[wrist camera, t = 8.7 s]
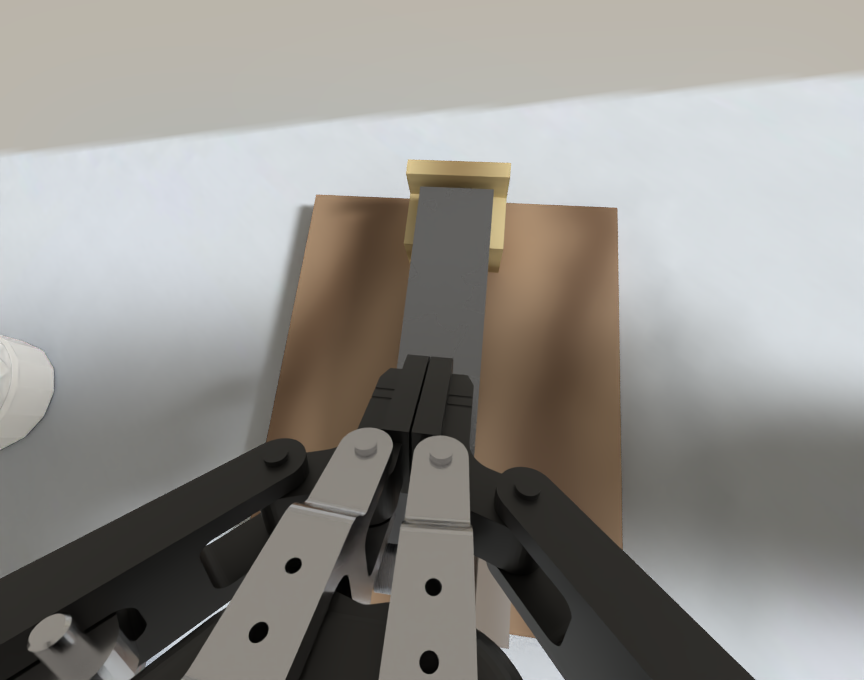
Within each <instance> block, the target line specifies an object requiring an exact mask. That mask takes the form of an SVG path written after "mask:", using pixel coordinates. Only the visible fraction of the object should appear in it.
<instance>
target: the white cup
mask: <svg viewBox="0 0 864 680" xmlns="http://www.w3.org/2000/svg"><path fill="white" fill-rule="evenodd" d="M53 393H54V368H53V366H52V365H51V363H50V361H49V359H48V358H47V356H46V354H45V353H44V351H43V350H41V349H39V348H37V347H35V346H33V345H31V344H28V343H26V342H24V341H21V340H17V339H13V338H10V337H6V336H2V335H0V450H1V449H3V448H5V447H7V446H9V445H11V444H13V443H14V442H16V441H18V440H20V439H22V438H24V437H25V436H26V435H27V434H28V433H29V432H30V431H31V430H32V429H33V428H34V427H35V425H36V424H37V423H38V422H39V421H40V420H41V419H42V418H43V416H44V415H45V413H46V410H47V408H48V405H49V403H50V400H51V398H52V395H53Z"/></svg>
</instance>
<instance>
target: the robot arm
mask: <svg viewBox="0 0 864 680" xmlns="http://www.w3.org/2000/svg"><path fill="white" fill-rule="evenodd" d="M473 390H474V385H473V383H472V381H471V380H470V378H469V376H468V375H461V374H453V358H444V357H433V356H431V359H430V356H421V355H410V354H408V355H407V357H406V359H405V362H404V365H403V368H402V369H397V368H390V369H388V370H387V371H386V372H385V373H384V374H382V375H381V376H380V378H379V380H378V382H377V385H376V387H375V389H374V392H373V394H372V398H371V399H370V401H369V403H368V406H367V408H366V410H365V413H364V415H363V417H362V419H361V422H360V424H359V426H358V429H357V430H354V431H352V432H350V433H349V434H347V435H346V436H345V437H344V438H343V439H342V440H341V442H340V443H339V445H338V447H335V448H332V449H327V450H320V451H313V452H306V450H305V447H304V446H303V444H302V443H300V442H299V441H297V440H294V439H290V438H280V439H275V440H271V441H269V442H266V443H264V444H262V445H260V446H258V447H256V448H254V449H252V450H251V451H249V452H247V453H245V454H243V455H241V456H239V457H237V458H235V459H233V460H231V461H229V462H227V463H225V464H223V465H221V466H219V467H217V468H215V469H213V470H212V471H210V472H208V473H206V474H204V475H202V476H200V477H198V478H196V479H194V480H192V481H190V482H188V483H186V484H184V485H182V486H180V487H178V488H176V489H174V490H172V491H171V492H169V493H167V494H165V495H163V496H161V497H159V498H157V499H155V500H153V501H151V502H149V503H147V504H145V505H143V506H141V507H139V508H137V509H135V510H133V511H132V512H130V513H128V514H126V515H124V516H122V517H120V518H118V519H116V520H114V521H112V522H110V523H108V524H106V525H104V526H102V527H100V528H98V529H96V530H94V531H93V532H91V533H89V534H87V535H85V536H83V537H81V538H79V539H77V540H75V541H73V542H71V543H69V544H67V545H65V546H63V547H61V548H59V549H57V550H55V551H54V552H52V553H50V554H48V555H46V556H44V557H42V558H40V559H38V560H36V561H34V562H32V563H30V564H28V565H26V566H24V567H22V568H20V569H18V570H16V571H15V572H13V573H11V574H9V575H7V576H5V577H3V578H1V579H0V680H523V679H522V677H521V676H520V674H519V672H518V671H517V669H516V668H515V666H514V665H513V664H512V662H511V661H510V660H509V658H508V657H507V656H506V654H505V653H504V652H503V651H502V650H501V649H500V648H499V647H498V645H497V644H496V643H495V642H493V641H492V640H491V639H490V638H489V637H488V636H486V635H485V634H484V633H482V632H481V631H479V630H478V629H476V612H475V580H474V556H476V557H478V558H480V559H482V560H484V561H486V563H487V566H488V569H489V571H490V572H491V574H492V576H493V577H494V578H495V580H496V581H497V583H498V584H499V586H500V587H501V588H502V590H503V591H504V593H505V594H506V596H507V597H508V599H509V600H510V601H511V603H512V604H513V606H514V607H515V609H516V610H517V612H518V613H519V614H520V616H521V617H522V619H523V620H524V622H525V623H526V624H527V626H528V627H529V629H530V630H531V632H532V633H533V635H534V636H535V637H536V639H537V640H538V642H539V643H540V645H541V646H542V648H543V649H544V650H545V652H546V653H547V655H548V656H549V658H550V659H551V660H552V662H553V663H554V665H555V666H556V668H557V669H558V671H559V672H560V673H561V675H562V676H563V678H564V679H565V680H755V679H754V678H753V677H752V676H751V675H750V674H749V673H748V672H747V671H746V670H745V669H744V668H743V667H742V666H741V665H740V664H739V663H738V662H737V661H736V660H735V659H734V658H733V657H732V656H731V655H730V654H728V653H727V652H726V651H725V650H724V649H723V648H722V647H721V646H720V645H719V644H718V643H717V642H716V641H715V640H714V639H713V638H712V637H711V636H710V635H709V634H708V633H707V632H706V631H705V630H704V629H703V628H702V627H701V626H700V625H699V624H698V623H697V622H696V621H695V620H694V619H693V618H692V617H691V616H690V615H689V614H687V613H686V612H685V611H684V610H683V609H682V608H681V607H680V606H679V605H678V604H677V603H676V602H675V601H674V600H673V599H672V598H671V597H670V596H669V595H668V594H667V593H666V592H665V591H664V590H663V589H662V588H661V587H660V586H659V585H658V584H657V583H656V582H655V581H654V580H653V579H652V578H651V577H650V576H649V575H647V574H646V573H645V572H644V571H643V570H642V569H641V568H640V567H639V566H638V565H637V564H636V563H635V562H634V561H633V560H632V559H631V558H630V557H629V556H628V555H627V554H626V553H625V552H624V551H623V550H622V549H621V548H620V547H619V546H618V545H617V544H616V543H615V542H614V541H613V540H612V539H611V538H610V537H609V536H608V535H606V534H605V533H604V532H603V531H602V530H601V529H600V528H599V527H598V526H597V525H596V524H595V523H594V522H593V521H592V520H591V519H590V518H589V517H588V516H587V515H586V514H585V513H584V512H583V511H582V510H581V509H580V508H579V507H578V506H577V505H576V504H575V503H574V502H573V501H572V500H571V499H570V498H569V497H568V496H567V495H565V494H564V493H563V492H562V491H561V490H560V489H559V488H558V487H557V486H556V485H555V484H554V483H553V482H552V481H551V480H550V479H549V478H548V477H547V476H546V475H544V474H543V473H541V472H539V471H537V470H535V469H532V468H528V467H513V468H510V469H507V470H506V471H504V472H503V473H502V474H501V473H499V472H497V471H494V470H492V469H489V468H487V467H485V466H484V465H482V464H481V463H480V462H478V461H477V460H476V458H475V457H474V456H473V454H472V452H471V450H470V429H471V416H472V403H473ZM400 493H406V494H408V498H407V505H406V512H405V519H404V521H402V523H401V528H400V534H399V541H398V548H397V555H396V562H395V569H394V576H393V583H392V590H391V597H390V602H385V603H377V604H370V603H371V595H372V590H373V585H374V582H375V579H376V576H377V573H378V569H379V566H380V563H381V560H382V557H383V554H384V551H385V548H386V545H387V542H388V539H389V536H390V533H391V530H392V527H393V524H394V521H395V517H396V508H397V504H398V500H399V496H400ZM258 511H260V512H261V513H259V514H258V515H256V516H255V517H253V518H251V519H250V520H248V521H247V522H245V523H243V524H242V525H240V526H238V527H237V528H235V529H234V530H232V531H230V532H229V533H227V534H226V535H224V536H222V537H221V538H219V539H217V540H216V541H214V542H213V543H211V544H209V545H207V544H208V543H209V542H210V541H211V540H213V539H214V538H216V537H217V536H219V535H221V534H222V533H224V532H225V531H227V530H229V529H230V528H232V527H234V526H235V525H237V524H239V523H240V522H242V521H243V520H245V519H247V518H248V517H250V516H252V515H253V514H255V513H256V512H258ZM230 600H231V601H230ZM229 601H230V603H229V605H228V606H227V607H226V608H225V609H223V610H222V611H220V612H218V613H217V614H215V615H214V616H212V617H211V618H210V619H208V620H207V621H206V622H204V623H203V624H202V625H200V626H199V627H198V628H196V629H195V630H194V631H192V632H191V633H190V634H189V635H187V636H186V637H185V638H183V639H182V640H181V641H179V642H178V643H177V644H175V645H174V646H173V647H172V648H170V649H169V650H168V651H166V652H165V653H164V654H162V655H161V656H160V657H158V658H157V659H156V660H155V661H153V662H152V663H151V664H149V665H148V666H147V667H145V668H144V669H143V670H141V671H140V672H139V673H138V674H136V675H135V672H136V670H137V668H138V667H139V666H140V665H142V664H143V663H145V662H146V661H147V660H149V659H150V658H152V657H153V656H154V655H156V654H157V653H158V652H160V651H161V650H163V649H164V648H165V647H167V646H168V645H170V644H171V643H172V642H174V641H175V640H176V639H178V638H179V637H181V636H182V635H183V634H185V633H186V632H188V631H189V630H190V629H192V628H193V627H194V626H196V625H197V624H199V623H200V622H201V621H203V620H204V619H206V618H207V617H208V616H210V615H211V614H212V613H214V612H215V611H217V610H218V609H219V608H221V607H222V606H224V605H225V604H226V603H228V602H229ZM134 675H135V676H134Z"/></svg>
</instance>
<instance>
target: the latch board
mask: <svg viewBox="0 0 864 680" xmlns="http://www.w3.org/2000/svg"><path fill="white" fill-rule="evenodd" d="M510 170H511V163H494V162H465V161H435V160H408V164H407V171H406V175H407V180H408V185H409V189H410V199H404V198H381V197H358V196H336V195H316V199H315V204H314V208H313V213H312V218H311V223H310V228H309V233H308V238H307V243H306V248H305V253H304V258H303V263H302V268H301V273H300V277H299V282H298V287H297V292H296V297H295V302H294V307H293V312H292V317H291V322H290V327H289V332H288V337H287V342H286V346H285V351H284V356H283V361H282V366H281V371H280V376H279V381H278V386H277V391H276V396H275V401H274V406H273V411H272V415H271V420H270V425H269V430H268V435H267V440H266V442H269V441H271V440H275V439H280V438H290V439H294V440H297V441H299V442H300V443H302V444H303V446H304V447H305V450H306V452H313V451H320V450H327V449H332V448H335V447H338V445H339V443H340V442H341V440H342V439H343V438H344V437H345V436H346V435H347V434H349V433H350V432H352V431H354V430H357V429H358V426H359V424H360V422H361V419H362V417H363V415H364V413H365V410H366V408H367V406H368V403H369V401H370V399H371V398H372V394H373V392H374V389H375V387H376V385H377V382H378V380H379V378H380V376H381V375H382V374H384V373H385V372H386V371H387V370H388V369H390V368H397V363H398V355H399V347H400V340H401V332H402V324H403V316H404V309H405V301H406V293H407V285H408V278H409V270H410V262H411V255H412V247H413V239H414V231H415V224H416V216H417V208H418V200H419V193H420V186H423V187H447V188H472V189H494V196H493V209H492V223H491V236H490V250H489V263H488V277H487V290H486V304H485V317H484V331H483V344H482V358H481V372H480V385H479V399H478V412H477V426H476V439H475V453H474V457H475V458H476V460H477V461H478V462H480V463H481V464H482V465H484V466H485V467H487V468H489V469H492V470H494V471H497V472H499V473H501V474H502V473H503V472H504V471H506V470H507V469H510V468H513V467H528V468H532V469H535V470H537V471H539V472H541V473H543V474H544V475H546V476H547V477H548V478H549V479H550V480H551V481H552V482H553V483H554V484H555V485H556V486H557V487H558V488H559V489H560V490H561V491H562V492H563V493H564V494H565V495H567V496H568V497H569V498H570V499H571V500H572V501H573V502H574V503H575V504H576V505H577V506H578V507H579V508H580V509H581V510H582V511H583V512H584V513H585V514H586V515H587V516H588V517H589V518H590V519H591V520H592V521H593V522H594V523H595V524H596V525H597V526H598V527H599V528H600V529H601V530H602V531H603V532H604V533H605V534H606V535H608V536H609V537H610V538H611V539H612V540H613V541H614V542H615V543H616V544H617V545H618V546H619V547H620V548H621V549H622V550H623V543H622V479H621V414H620V350H619V285H618V220H617V208H608V207H585V206H562V205H540V204H517V203H506V198H507V192H508V186H509V180H510ZM259 513H261V512H260V511H258V512H256V513H255V514H253V515H252V516H251V518H253V517H255V516H256V515H258V514H259ZM474 580H475V612H476V629H478V630H479V631H481V632H482V633H484V634H485V635H486V636H488V637H489V638H490V639H491V640H492V641H493V642H495V643H496V644H497V645H498V647H501V648H508V649H509V634H512V635H518V636H525V637H531V638H536V637H535V636H534V635H533V633H532V632H531V630H530V629H529V627H528V626H527V624H526V623H525V622H524V620H523V619H522V617H521V616H520V614H519V613H518V612H517V610H516V609H515V607H514V606H513V604H512V603H511V601H510V600H509V599H508V597H507V596H506V594H505V593H504V591H503V590H502V588H501V587H500V586H499V584H498V583H497V581H496V580H495V578H494V577H493V576H492V574H491V572H490V571H489V569H488V566H487V563H486V561H484V560H482V559H480V558H478V557H476V556H474ZM390 597H391V595H388V594H382V593H375V592H374V591H373V590H372V595H371V603H370V604H377V603H385V602H390Z"/></svg>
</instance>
